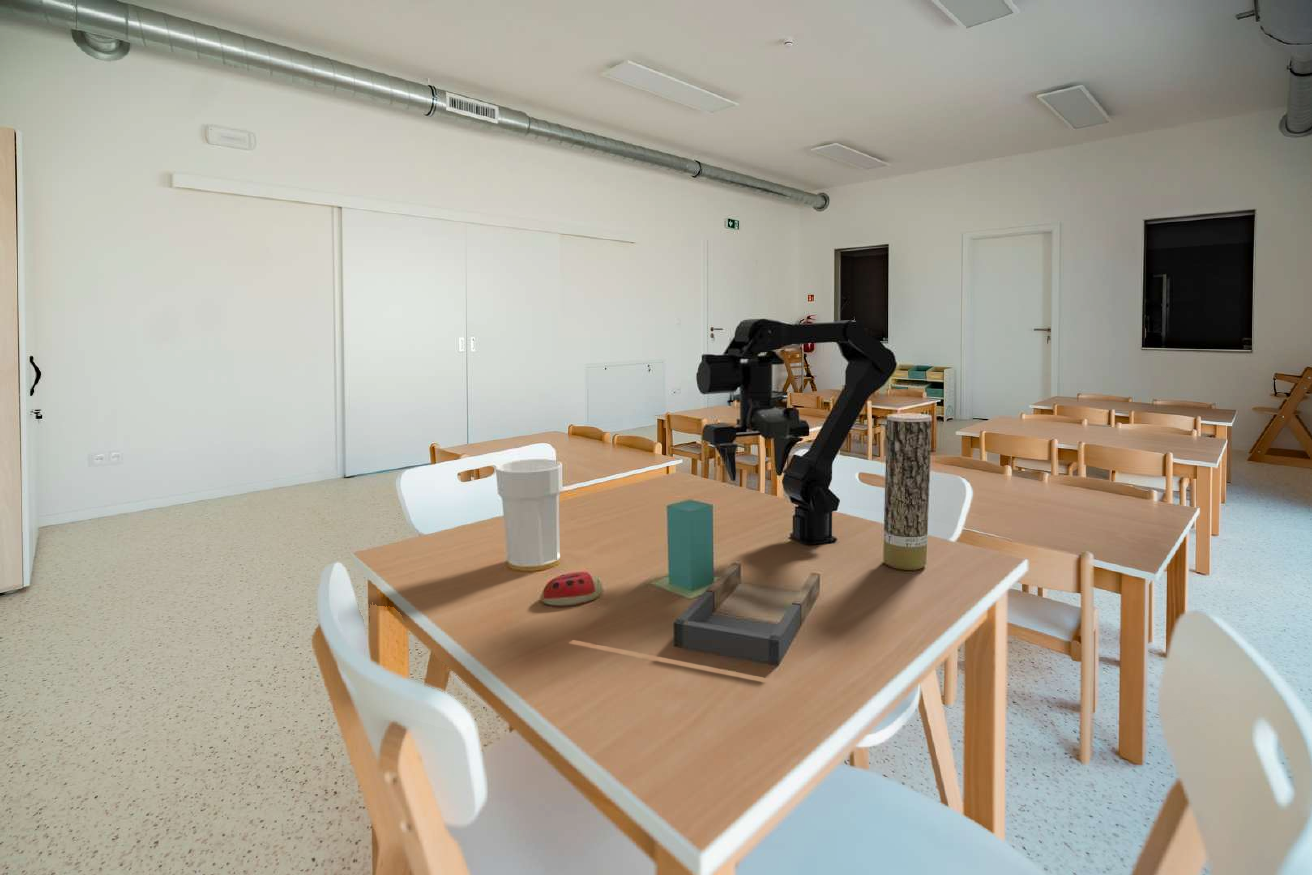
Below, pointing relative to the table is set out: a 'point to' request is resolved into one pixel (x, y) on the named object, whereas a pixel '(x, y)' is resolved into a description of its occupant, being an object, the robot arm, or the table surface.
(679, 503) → the teal block
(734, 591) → the open channel
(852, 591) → the table surface
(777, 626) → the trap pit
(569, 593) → the ladybug figurine
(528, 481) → the cup
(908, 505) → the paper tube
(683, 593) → the pad
